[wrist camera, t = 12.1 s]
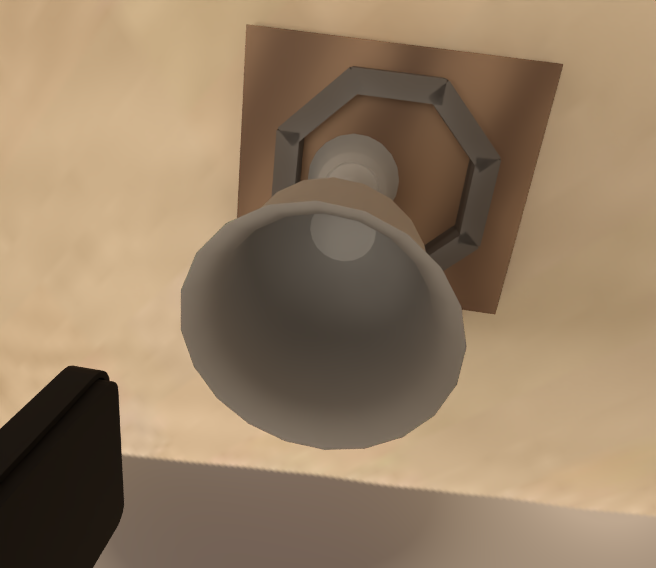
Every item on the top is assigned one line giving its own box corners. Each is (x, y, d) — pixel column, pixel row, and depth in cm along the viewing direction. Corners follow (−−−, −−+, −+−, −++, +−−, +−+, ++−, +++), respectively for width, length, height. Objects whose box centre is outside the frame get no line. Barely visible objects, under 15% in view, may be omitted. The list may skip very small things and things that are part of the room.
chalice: (265, 189, 30) (131, 349, 14) (336, 86, 28) (274, 135, 11) (368, 263, 32) (355, 491, 15) (444, 171, 29) (528, 324, 13)
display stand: (554, 63, 28) (576, 65, 25) (490, 303, 33) (501, 330, 30) (253, 25, 29) (236, 22, 25) (240, 266, 34) (225, 288, 31)
